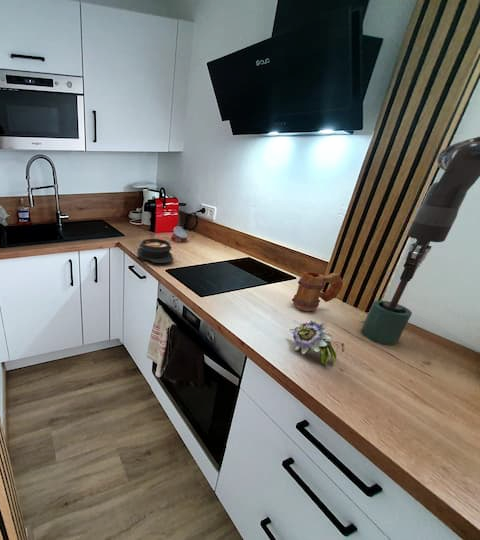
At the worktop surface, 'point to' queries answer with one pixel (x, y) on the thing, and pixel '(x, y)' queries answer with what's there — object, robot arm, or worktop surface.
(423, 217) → the robot arm
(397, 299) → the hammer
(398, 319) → the green pencil cup
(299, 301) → the mug
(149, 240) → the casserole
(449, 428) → the worktop surface
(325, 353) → the passion flower
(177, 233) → the canned food
